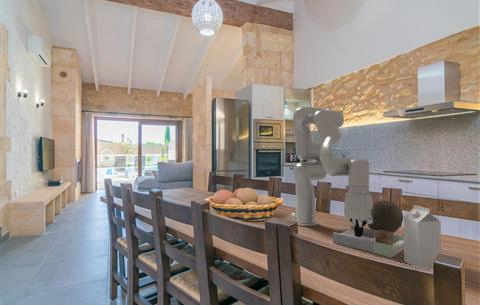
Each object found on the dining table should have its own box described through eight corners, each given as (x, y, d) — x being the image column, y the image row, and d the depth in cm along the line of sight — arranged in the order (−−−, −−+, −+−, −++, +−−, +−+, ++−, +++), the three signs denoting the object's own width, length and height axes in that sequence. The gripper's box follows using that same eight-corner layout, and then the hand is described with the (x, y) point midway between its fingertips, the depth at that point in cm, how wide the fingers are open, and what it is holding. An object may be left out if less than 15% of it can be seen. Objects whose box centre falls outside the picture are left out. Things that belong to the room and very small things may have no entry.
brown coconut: (386, 241, 110) (386, 205, 110) (359, 232, 123) (359, 199, 123) (410, 237, 115) (410, 202, 116) (381, 228, 129) (381, 197, 129)
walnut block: (375, 244, 100) (375, 232, 100) (380, 241, 103) (380, 229, 103) (388, 247, 96) (388, 234, 96) (393, 244, 99) (392, 232, 99)
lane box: (332, 242, 110) (332, 232, 110) (351, 234, 120) (351, 225, 120) (391, 257, 93) (391, 246, 93) (406, 247, 104) (406, 236, 104)
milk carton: (424, 261, 90) (424, 204, 90) (441, 270, 83) (440, 208, 83) (403, 261, 90) (403, 204, 90) (418, 271, 83) (418, 209, 83)
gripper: (336, 189, 110) (336, 233, 110) (374, 193, 99) (374, 243, 99) (345, 187, 115) (345, 230, 115) (382, 191, 104) (382, 238, 104)
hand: (358, 236), depth 107 cm, fingers closed
